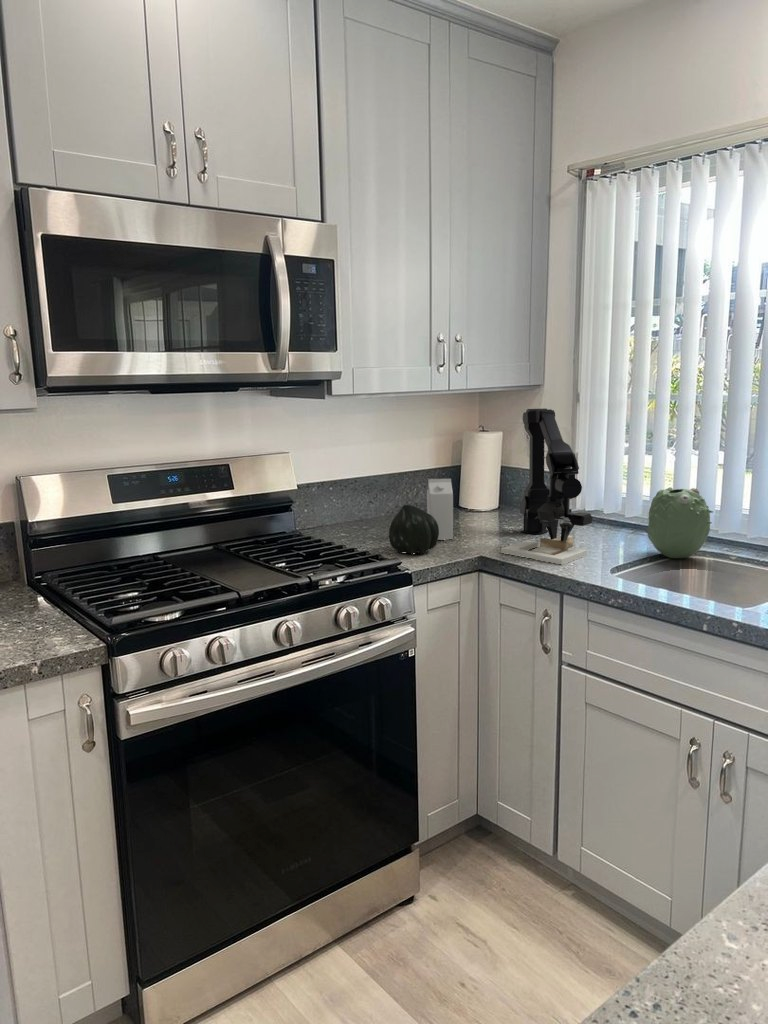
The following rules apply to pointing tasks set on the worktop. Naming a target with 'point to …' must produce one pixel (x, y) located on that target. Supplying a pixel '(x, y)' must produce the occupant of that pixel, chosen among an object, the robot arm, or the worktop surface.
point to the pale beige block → (547, 550)
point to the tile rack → (558, 558)
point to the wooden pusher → (558, 543)
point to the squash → (413, 530)
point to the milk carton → (441, 505)
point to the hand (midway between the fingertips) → (558, 544)
